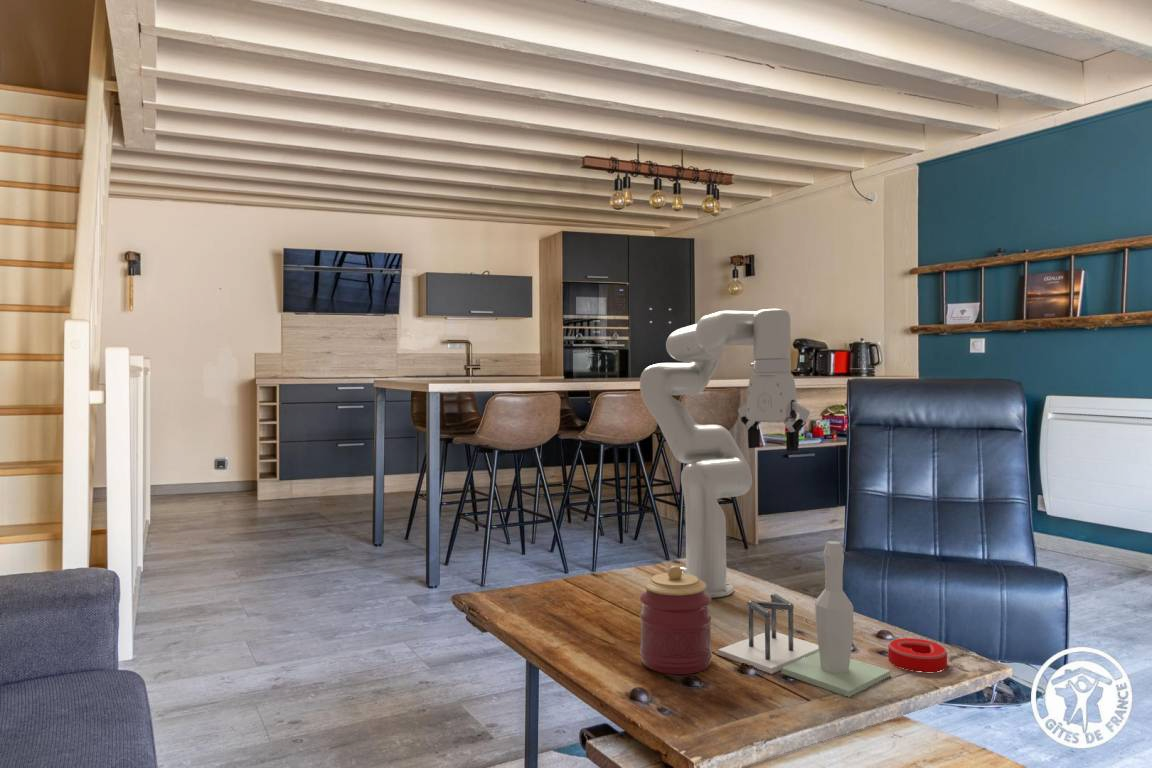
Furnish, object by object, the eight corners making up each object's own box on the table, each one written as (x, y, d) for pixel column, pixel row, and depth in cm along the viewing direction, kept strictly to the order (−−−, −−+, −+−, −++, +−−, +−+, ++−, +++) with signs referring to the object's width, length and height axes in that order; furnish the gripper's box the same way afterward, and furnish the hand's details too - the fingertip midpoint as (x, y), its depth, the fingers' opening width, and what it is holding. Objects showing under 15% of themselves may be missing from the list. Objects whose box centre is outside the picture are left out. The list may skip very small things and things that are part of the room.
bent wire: (736, 649, 143) (736, 603, 142) (773, 636, 150) (772, 592, 150) (768, 660, 137) (768, 613, 137) (805, 646, 144) (804, 600, 144)
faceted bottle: (860, 674, 130) (859, 545, 130) (824, 676, 130) (823, 547, 129) (843, 660, 137) (842, 537, 136) (809, 662, 136) (808, 539, 136)
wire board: (718, 654, 143) (718, 649, 143) (770, 635, 153) (770, 630, 153) (771, 673, 134) (771, 668, 134) (823, 651, 144) (823, 646, 144)
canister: (628, 655, 143) (627, 561, 143) (688, 645, 148) (687, 554, 148) (661, 680, 131) (660, 578, 131) (725, 669, 136) (725, 570, 136)
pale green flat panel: (781, 673, 134) (781, 667, 134) (823, 655, 142) (823, 649, 142) (849, 697, 124) (849, 691, 124) (890, 676, 132) (890, 670, 132)
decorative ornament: (954, 663, 138) (954, 646, 138) (935, 679, 131) (935, 660, 131) (900, 650, 145) (900, 633, 145) (879, 664, 138) (879, 647, 138)
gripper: (728, 368, 165) (728, 447, 166) (796, 367, 152) (797, 453, 152) (750, 368, 170) (750, 445, 170) (818, 367, 157) (819, 451, 157)
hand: (772, 449), depth 161 cm, fingers open, 9 cm apart
